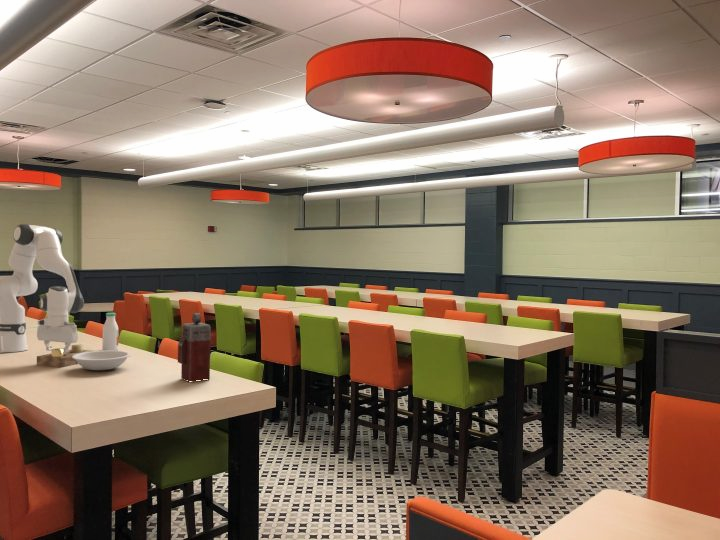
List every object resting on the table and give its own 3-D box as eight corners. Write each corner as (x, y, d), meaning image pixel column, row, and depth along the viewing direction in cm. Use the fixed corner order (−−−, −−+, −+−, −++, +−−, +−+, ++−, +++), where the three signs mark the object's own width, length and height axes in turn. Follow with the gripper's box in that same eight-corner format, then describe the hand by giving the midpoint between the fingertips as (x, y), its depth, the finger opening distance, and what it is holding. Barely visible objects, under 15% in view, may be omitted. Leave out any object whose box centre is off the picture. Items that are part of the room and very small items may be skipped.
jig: (36, 365, 258) (36, 349, 258) (73, 357, 279) (73, 342, 279) (61, 367, 254) (62, 351, 254) (96, 359, 275) (96, 344, 275)
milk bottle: (114, 351, 296) (114, 313, 296) (99, 351, 297) (100, 313, 296) (120, 349, 304) (121, 312, 304) (106, 348, 304) (107, 312, 304)
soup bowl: (59, 370, 247) (59, 356, 247) (107, 362, 268) (107, 348, 268) (96, 377, 236) (96, 361, 236) (142, 368, 257) (142, 353, 257)
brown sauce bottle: (175, 379, 236) (176, 312, 235) (201, 376, 243) (202, 311, 243) (184, 383, 229) (185, 314, 229) (209, 379, 236) (211, 313, 236)
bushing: (57, 362, 264) (57, 347, 264) (66, 363, 263) (66, 348, 262) (48, 364, 259) (48, 349, 259) (57, 365, 258) (57, 350, 257)
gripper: (81, 322, 260) (80, 351, 261) (45, 319, 266) (45, 348, 266) (71, 323, 254) (70, 354, 255) (34, 320, 260) (34, 350, 260)
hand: (57, 351), depth 261 cm, fingers open, 8 cm apart
